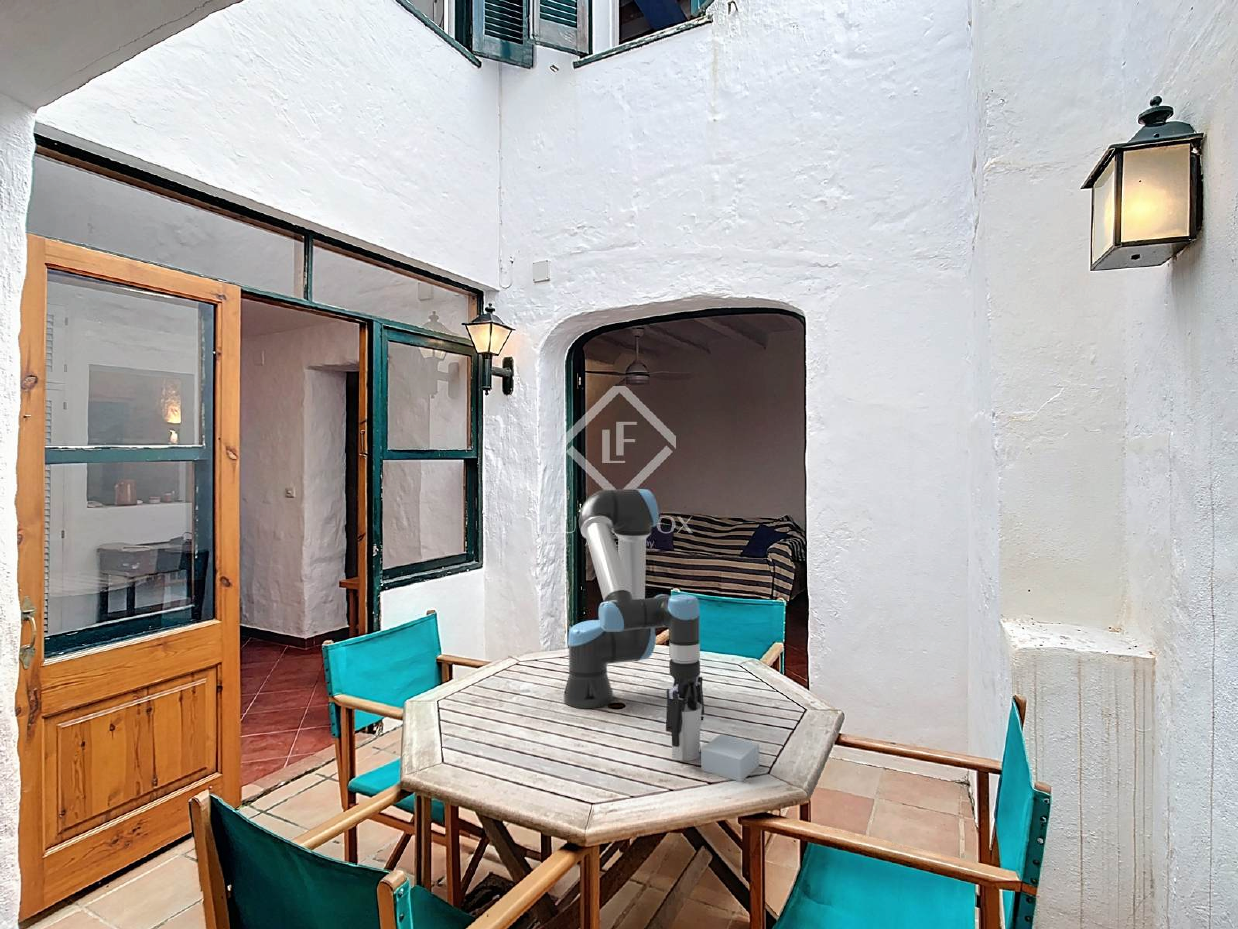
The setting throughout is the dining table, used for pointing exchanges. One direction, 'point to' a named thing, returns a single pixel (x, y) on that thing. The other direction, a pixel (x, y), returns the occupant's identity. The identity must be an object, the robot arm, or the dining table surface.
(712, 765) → the pedestal block
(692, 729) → the cup
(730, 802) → the dining table surface
